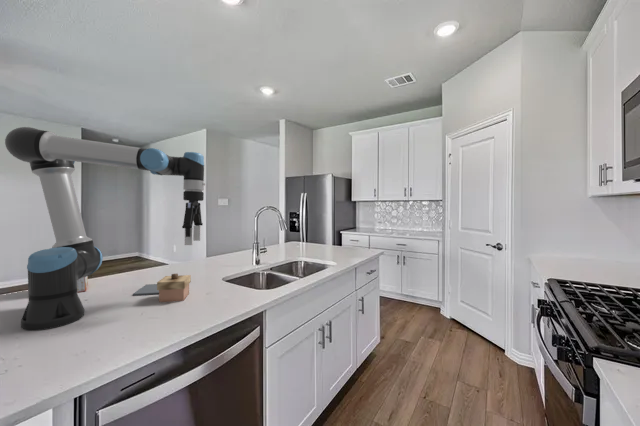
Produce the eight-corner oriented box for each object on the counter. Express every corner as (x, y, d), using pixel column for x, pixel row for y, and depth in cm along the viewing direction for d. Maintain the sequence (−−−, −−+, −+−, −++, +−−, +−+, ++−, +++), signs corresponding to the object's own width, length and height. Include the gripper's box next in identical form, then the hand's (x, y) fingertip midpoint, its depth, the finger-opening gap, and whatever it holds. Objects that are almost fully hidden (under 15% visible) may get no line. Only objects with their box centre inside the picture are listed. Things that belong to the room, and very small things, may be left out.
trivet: (132, 295, 118) (132, 293, 118) (146, 286, 132) (146, 284, 132) (169, 293, 121) (169, 292, 121) (178, 284, 135) (178, 283, 134)
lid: (157, 290, 110) (157, 278, 110) (165, 283, 119) (165, 271, 119) (184, 288, 112) (184, 276, 112) (190, 281, 122) (190, 271, 121)
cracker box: (71, 286, 131) (70, 241, 130) (88, 284, 134) (87, 240, 134) (67, 294, 119) (66, 245, 119) (86, 291, 123) (85, 244, 122)
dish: (159, 302, 110) (158, 289, 110) (166, 294, 119) (166, 283, 119) (183, 300, 112) (183, 288, 112) (189, 293, 121) (189, 282, 121)
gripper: (196, 189, 103) (195, 247, 103) (209, 192, 127) (208, 239, 128) (174, 189, 101) (173, 247, 102) (191, 192, 126) (190, 239, 126)
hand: (193, 242), depth 115 cm, fingers open, 13 cm apart
